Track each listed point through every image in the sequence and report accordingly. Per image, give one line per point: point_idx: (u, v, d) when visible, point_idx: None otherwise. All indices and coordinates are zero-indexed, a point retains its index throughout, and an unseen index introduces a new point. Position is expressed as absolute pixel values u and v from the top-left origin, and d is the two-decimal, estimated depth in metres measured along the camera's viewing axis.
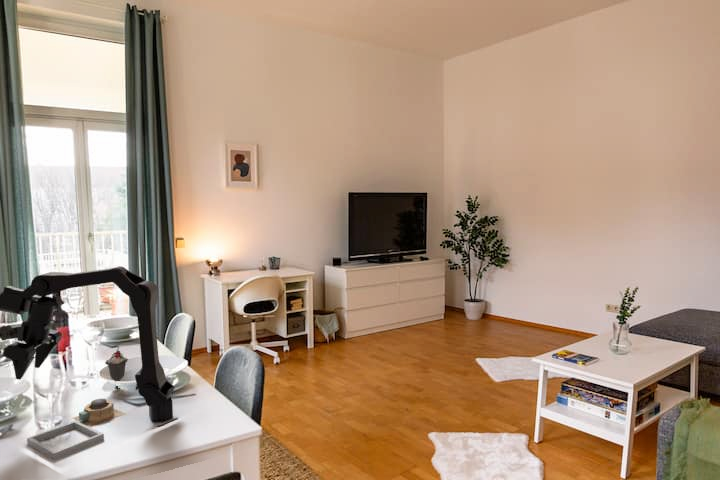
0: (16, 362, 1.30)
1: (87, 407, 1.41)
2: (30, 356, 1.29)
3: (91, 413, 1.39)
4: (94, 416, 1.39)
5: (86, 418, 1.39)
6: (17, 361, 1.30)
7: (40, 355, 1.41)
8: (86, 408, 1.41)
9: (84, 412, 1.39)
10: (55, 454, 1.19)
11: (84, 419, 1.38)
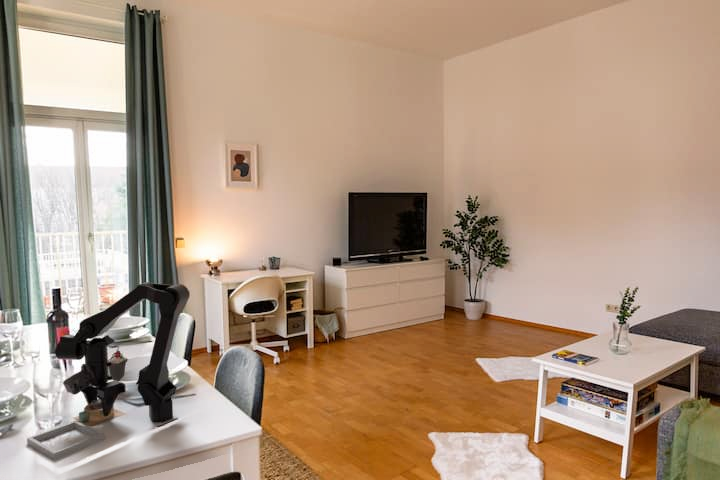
0: (105, 400, 1.39)
1: (87, 407, 1.41)
2: None
3: (91, 413, 1.39)
4: (94, 416, 1.39)
5: (86, 418, 1.39)
6: (105, 399, 1.39)
7: (92, 397, 1.45)
8: (86, 408, 1.41)
9: (84, 412, 1.39)
10: (55, 454, 1.19)
11: (84, 419, 1.38)
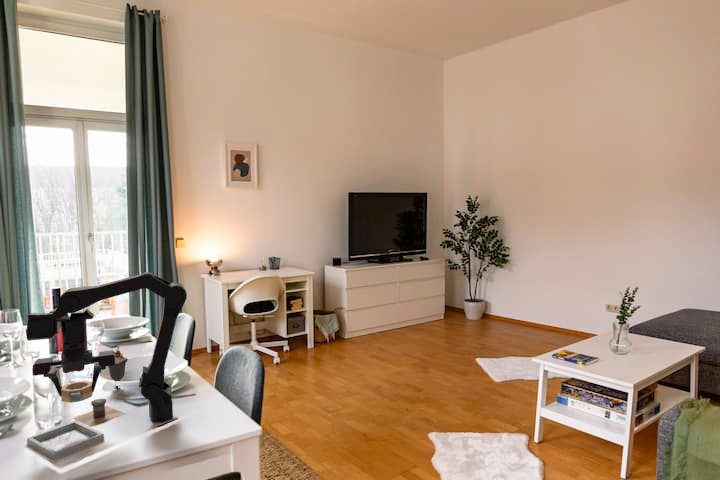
0: None
1: (69, 389, 1.30)
2: None
3: (83, 391, 1.31)
4: (86, 393, 1.31)
5: (80, 398, 1.29)
6: None
7: (60, 382, 1.31)
8: (71, 390, 1.29)
9: (75, 393, 1.29)
10: (55, 454, 1.19)
11: (80, 399, 1.29)
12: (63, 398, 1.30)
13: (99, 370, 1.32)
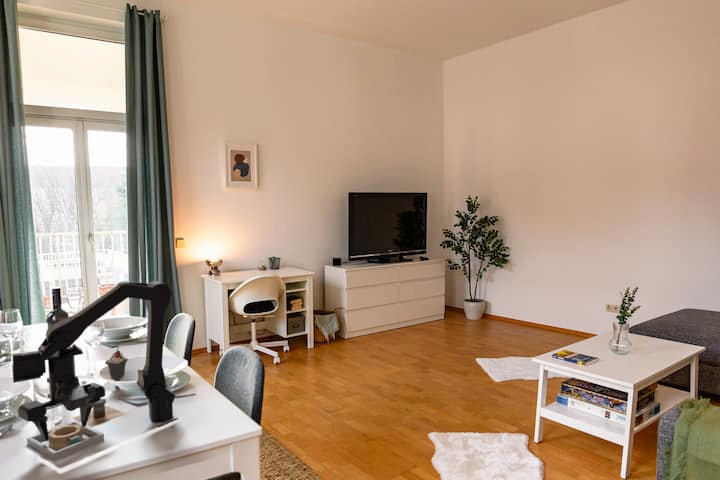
0: None
1: (64, 435, 1.25)
2: None
3: (79, 434, 1.27)
4: (80, 436, 1.28)
5: None
6: None
7: None
8: (67, 435, 1.25)
9: (73, 436, 1.25)
10: (55, 454, 1.19)
11: None
12: (57, 446, 1.24)
13: (95, 402, 1.31)
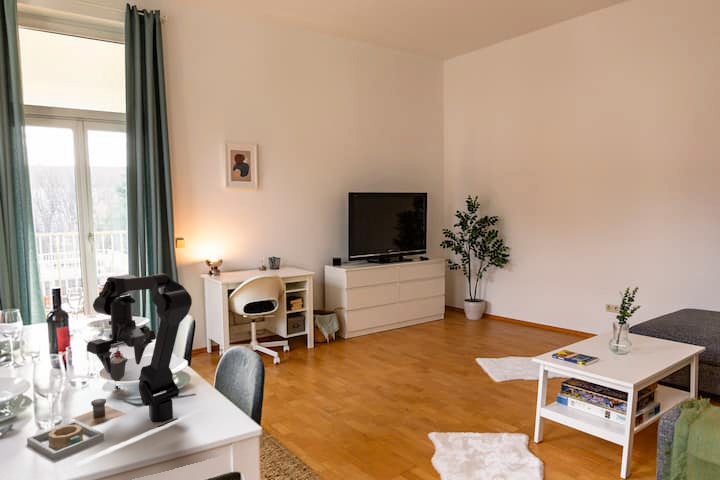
0: None
1: (64, 435, 1.25)
2: None
3: (79, 434, 1.27)
4: (80, 436, 1.28)
5: None
6: None
7: None
8: (67, 435, 1.25)
9: (73, 436, 1.25)
10: (55, 454, 1.19)
11: None
12: (57, 446, 1.24)
13: (147, 343, 1.53)
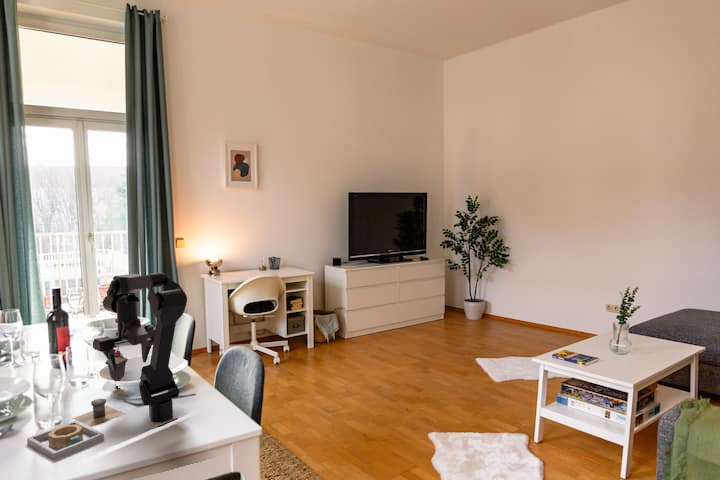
0: None
1: (64, 435, 1.25)
2: None
3: (79, 434, 1.27)
4: (80, 436, 1.28)
5: None
6: None
7: None
8: (67, 435, 1.25)
9: (73, 436, 1.25)
10: (55, 454, 1.19)
11: None
12: (57, 446, 1.24)
13: None
